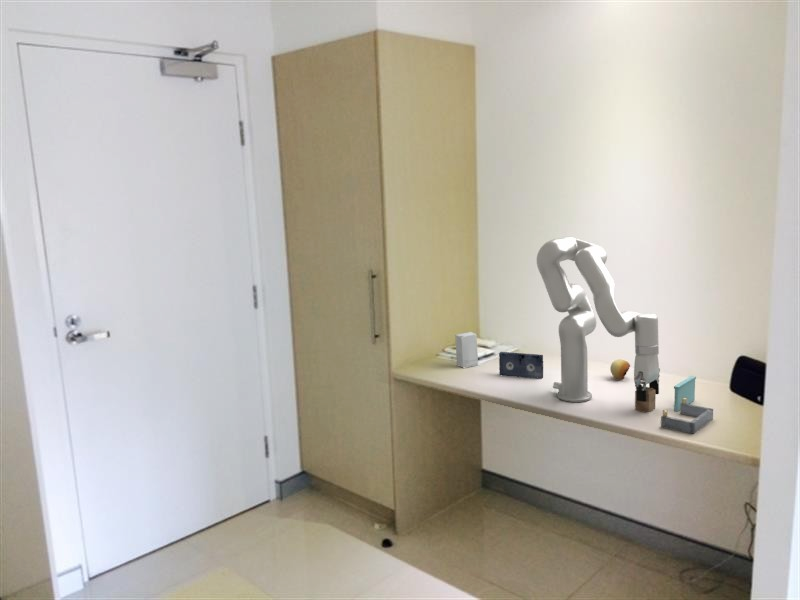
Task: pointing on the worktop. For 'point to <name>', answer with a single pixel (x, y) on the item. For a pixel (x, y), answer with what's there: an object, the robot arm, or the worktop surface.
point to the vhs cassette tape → (521, 365)
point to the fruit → (619, 368)
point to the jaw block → (649, 403)
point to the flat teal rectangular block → (684, 392)
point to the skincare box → (466, 349)
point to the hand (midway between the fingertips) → (647, 397)
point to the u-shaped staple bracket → (692, 426)
